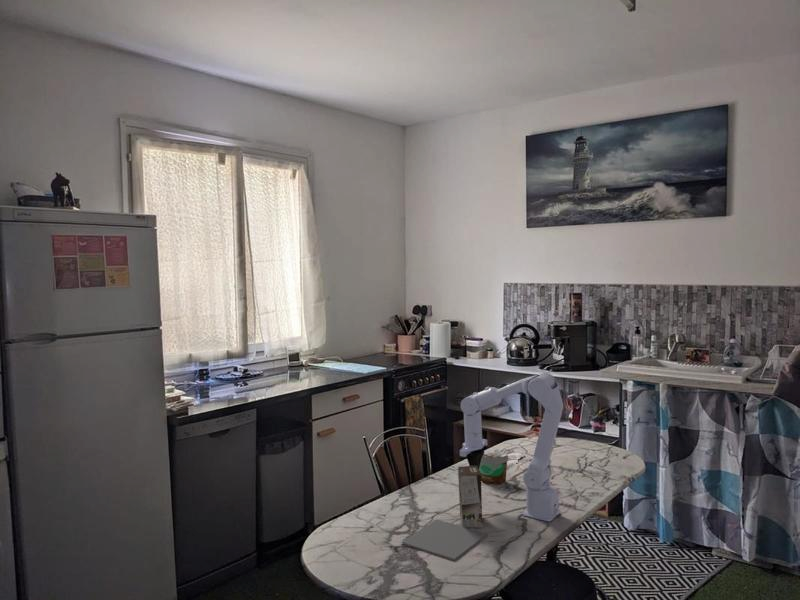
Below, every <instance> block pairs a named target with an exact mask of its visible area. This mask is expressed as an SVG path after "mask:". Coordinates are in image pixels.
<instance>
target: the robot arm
mask: <svg viewBox="0 0 800 600" xmlns="http://www.w3.org/2000/svg"><path fill="white" fill-rule="evenodd" d="M520 393H523V394H525V395H530V396H531V397H532V398H534V399H535V400H536V401H537V402H539V403H540V404H541V406H542V407H543V408H544V411H543V413H544V414H543V416H542V421H541V425H540V429H539V432H538V433H539V434H538V437H537V440H536V444H535V449H534V452H533V456H532V459H531V460H530V462H529V465H528V468H527V469H526V470H525V472H524V473H523V476H522V479H523V482H524V483H523V484H524V485H525V489H526V490H525V491H526V510H524V511H523V512H521V515H522V516H523V517H524V516H525V517H528V518H532V519H537V520H540V521H543V522H544V521H545V522H552V521H553V520H554V519H555V518H556V517H557V516H558V515H560V514H561V511H560V498H559V491H558V490H557V489H555V488H554V487H553V488H552V486H550V482H549V479H550V478H551V476H552V467H551V465H552V460H551V456H552V452H553V449H554V444H555V441H556V437H557V432H558V429H559V426H560V422H561V418H562V414H563V410H564V403H563V398H562V394H561V392H560V383H559V382H558V381H557V379H556V377H554V376H553V375H552V374H551V373H548V372H542V373H540V374H539V375H538V374H535V375H531V376H528V377H525V378H522V379H519V380H517V381H515V382H512V383H510V384H508V385H505V386H503V387H501V388H497V387H494V386H492V387H491V386H487V387H485V388H484V389H483V390H482V391H479V392H477V391H475V392H473V393H472V394H470V395H469V396H465V398H463V399H462V400H461V402H460V410H461V411H462V413H463V427H464V442H463V443H462V445H461V446H462V448H461V449H459V456H460V457H463V458H466V461H467V462H468V466H478V469H479V468H480V463H481V459H482V457H483V454H485V450H484V449H483V448H484V447H487V446H488V439H485V438H483V430H482V429H483V427H482V426H483V425H482V411H483V410H486V409H490V408H493V407H494V406H497V405H500V404H501V402H502V399H504V398H507V397H510V396H513V395H516V394H520Z"/></svg>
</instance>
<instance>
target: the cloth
mask: <svg viewBox="0 0 800 600" xmlns="http://www.w3.org/2000/svg"><path fill="white" fill-rule="evenodd" d="M506 455H508V458H511V459H517V460H511V461H507V469H508V470H509V469H511V468H513V467H515V466H516V465H515V464H514V462H517V463H519V460H520V459H521V457H522V458H524V457H526V455H524V454H523V452H522V451H521V452H520V451H519V452H515V453H508V454H505V455H501V456H502V457H503V456H506ZM514 465H515V466H514ZM512 466H513V467H512ZM510 467H511V468H510Z"/></svg>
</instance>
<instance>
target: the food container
mask: <svg viewBox="0 0 800 600" xmlns="http://www.w3.org/2000/svg"><path fill="white" fill-rule="evenodd" d="M505 455H506V456H503V455H497V454H491V453H489V454H485V453H484V454H483V457H482V459H481V463H480V468H479V471H480V474H481V481H482V482H481V483H483V484H485V483H486V485H491V484H493V485H496V486H497V485H501V484H504V483H506V482H507V461H509V458H508V454H505ZM502 456H503V457H502Z"/></svg>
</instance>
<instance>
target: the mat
mask: <svg viewBox="0 0 800 600" xmlns="http://www.w3.org/2000/svg"><path fill="white" fill-rule="evenodd" d="M488 536H489V533H488V532H484V531H480V530H477V529H474V528H473V529H472V528H466V527H463V526H462V525H459V524H455V523H452V522H447V521H444V520H442V519H441V520H440V519H435V520H434V521H432V522H430V523H429V524H427V525H425V526H424V527H423V528H421V529H420V530H418V531H416V532H415V533H413V534H411V535H410V536H408V537H407V538H405V539H404V540H402V541H401V543H403V544H406V545H409V546H411V547H410V548H412V547H414V548H413V549H415V548H417V549H416V550H418V549H420V550H419V551H421V550H422V551H421V552H425V551H426V552H425V553H428V554H431V555H435V556H438V557H439V558H440V557H441V558H444V559H447V560H450V561H453V562H456V561H457V560H458V559H459V558H460V557H462V556H463V555H465V554H466V553H467V552H469V551H470V550H471V549H472V548H474V547H475V546H476V545H478V544H479V543H480V542H482V541H483V540H484V539H486V538H487V537H488ZM401 543H400V544H401ZM403 544H402V545H403ZM406 545H405V546H406ZM409 546H408V547H409Z"/></svg>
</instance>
